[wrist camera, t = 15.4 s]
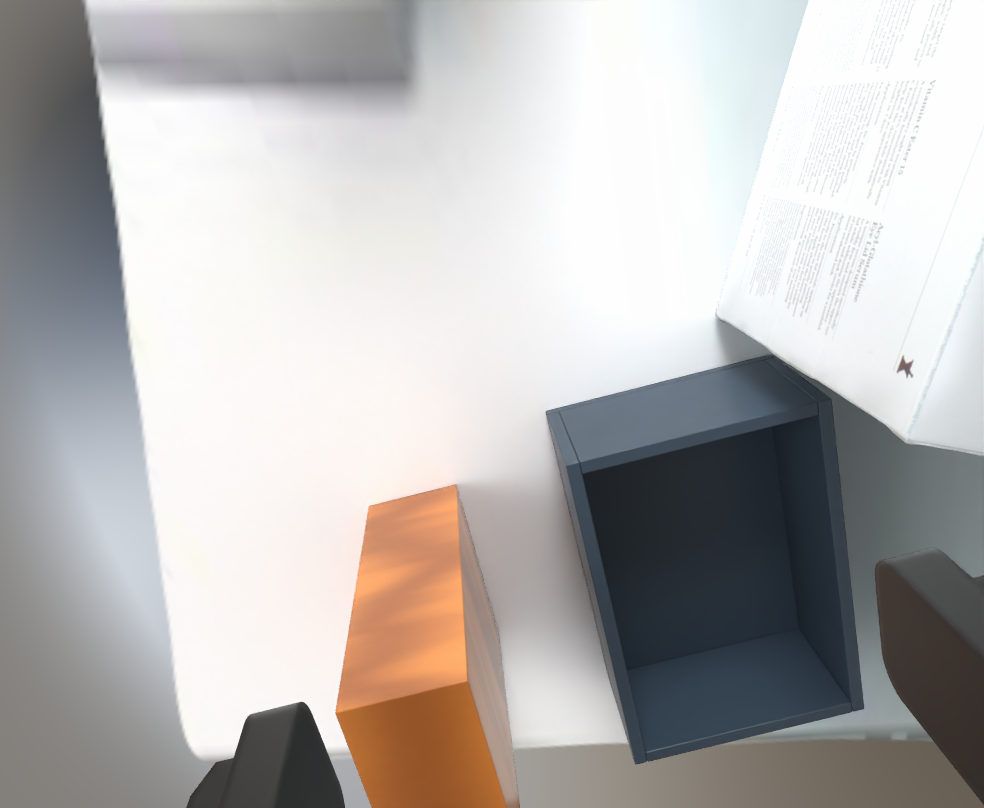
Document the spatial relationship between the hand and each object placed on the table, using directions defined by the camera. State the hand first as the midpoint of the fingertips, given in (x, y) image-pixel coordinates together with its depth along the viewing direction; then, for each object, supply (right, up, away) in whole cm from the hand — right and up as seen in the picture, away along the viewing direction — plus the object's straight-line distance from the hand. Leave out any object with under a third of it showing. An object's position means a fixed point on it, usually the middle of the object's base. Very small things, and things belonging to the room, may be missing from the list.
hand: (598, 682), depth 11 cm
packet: (-4, -5, +31) cm, 32 cm away
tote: (+8, -2, +31) cm, 33 cm away
